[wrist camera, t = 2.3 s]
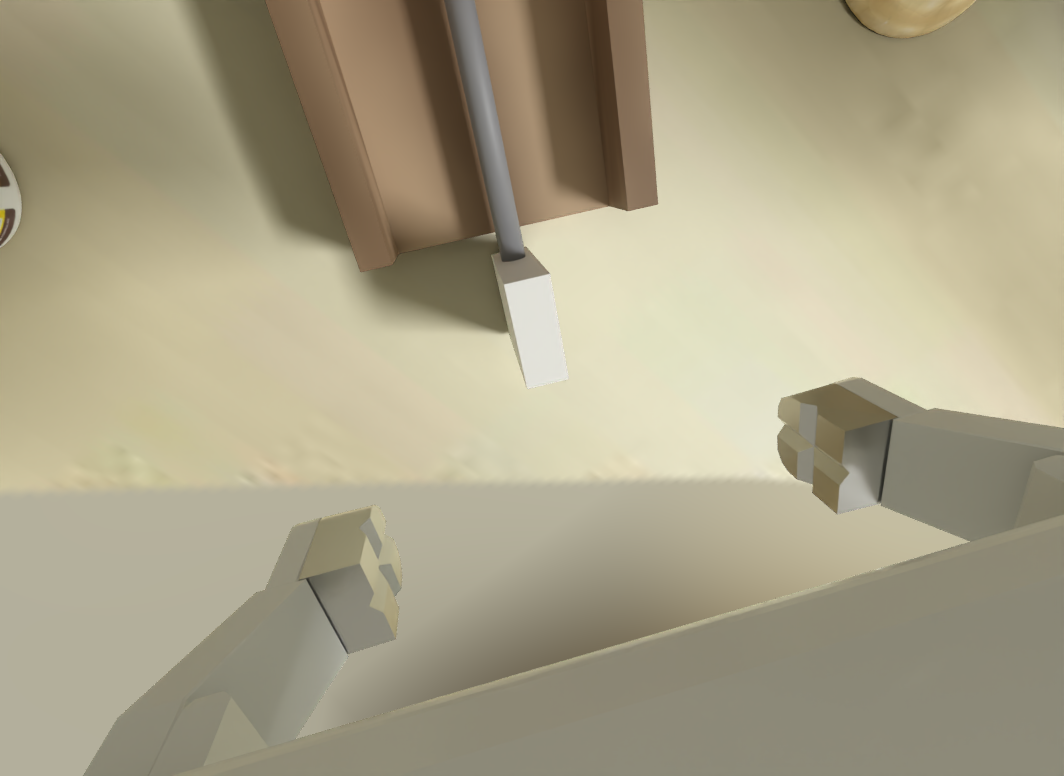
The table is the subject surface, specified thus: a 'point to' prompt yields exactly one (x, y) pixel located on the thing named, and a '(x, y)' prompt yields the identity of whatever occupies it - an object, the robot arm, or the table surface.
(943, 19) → the hand bell
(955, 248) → the table surface
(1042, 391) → the table surface
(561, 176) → the shelf lane
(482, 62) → the pull block
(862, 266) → the table surface
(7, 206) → the supplement bottle
